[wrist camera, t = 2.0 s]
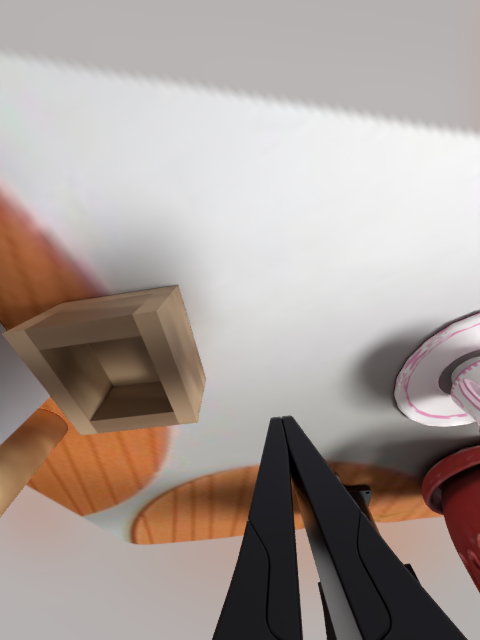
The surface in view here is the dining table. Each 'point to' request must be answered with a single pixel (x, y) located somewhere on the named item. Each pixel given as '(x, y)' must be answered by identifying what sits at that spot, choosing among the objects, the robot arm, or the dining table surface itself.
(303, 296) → the dining table surface
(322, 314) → the dining table surface
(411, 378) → the teacup
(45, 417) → the dowel
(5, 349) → the wall
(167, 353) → the socket block
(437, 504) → the plant pot
